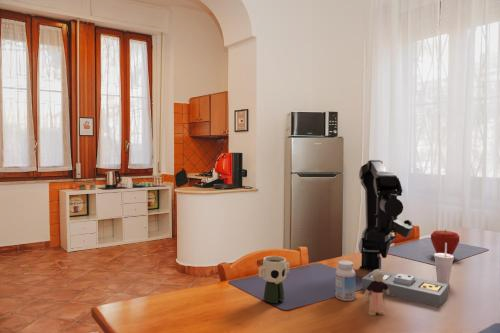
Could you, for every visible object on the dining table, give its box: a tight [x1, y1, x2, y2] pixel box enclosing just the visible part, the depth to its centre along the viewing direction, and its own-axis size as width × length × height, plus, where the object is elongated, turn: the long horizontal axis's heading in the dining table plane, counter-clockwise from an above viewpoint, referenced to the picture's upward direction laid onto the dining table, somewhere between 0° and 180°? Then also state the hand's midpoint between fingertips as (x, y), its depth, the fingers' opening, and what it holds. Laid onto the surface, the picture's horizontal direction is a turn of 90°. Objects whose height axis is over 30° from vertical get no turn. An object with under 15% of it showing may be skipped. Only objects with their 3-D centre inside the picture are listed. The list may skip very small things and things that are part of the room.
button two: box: [394, 273, 416, 286], centre depth 129 cm, size 5×5×3 cm
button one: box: [370, 275, 390, 280], centre depth 134 cm, size 5×5×3 cm
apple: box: [430, 229, 460, 255], centre depth 172 cm, size 11×11×12 cm
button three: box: [420, 283, 441, 292], centre depth 124 cm, size 5×5×3 cm
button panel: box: [361, 270, 449, 307], centre depth 129 cm, size 24×12×4 cm, turn 52°
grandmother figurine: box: [363, 269, 390, 316], centre depth 112 cm, size 8×4×13 cm, turn 114°
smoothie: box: [433, 243, 455, 284], centre depth 138 cm, size 6×6×14 cm
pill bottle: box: [335, 260, 356, 302], centre depth 123 cm, size 6×6×11 cm
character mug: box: [258, 255, 290, 304], centre depth 120 cm, size 11×7×13 cm, turn 118°
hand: (384, 257), depth 133 cm, fingers closed
